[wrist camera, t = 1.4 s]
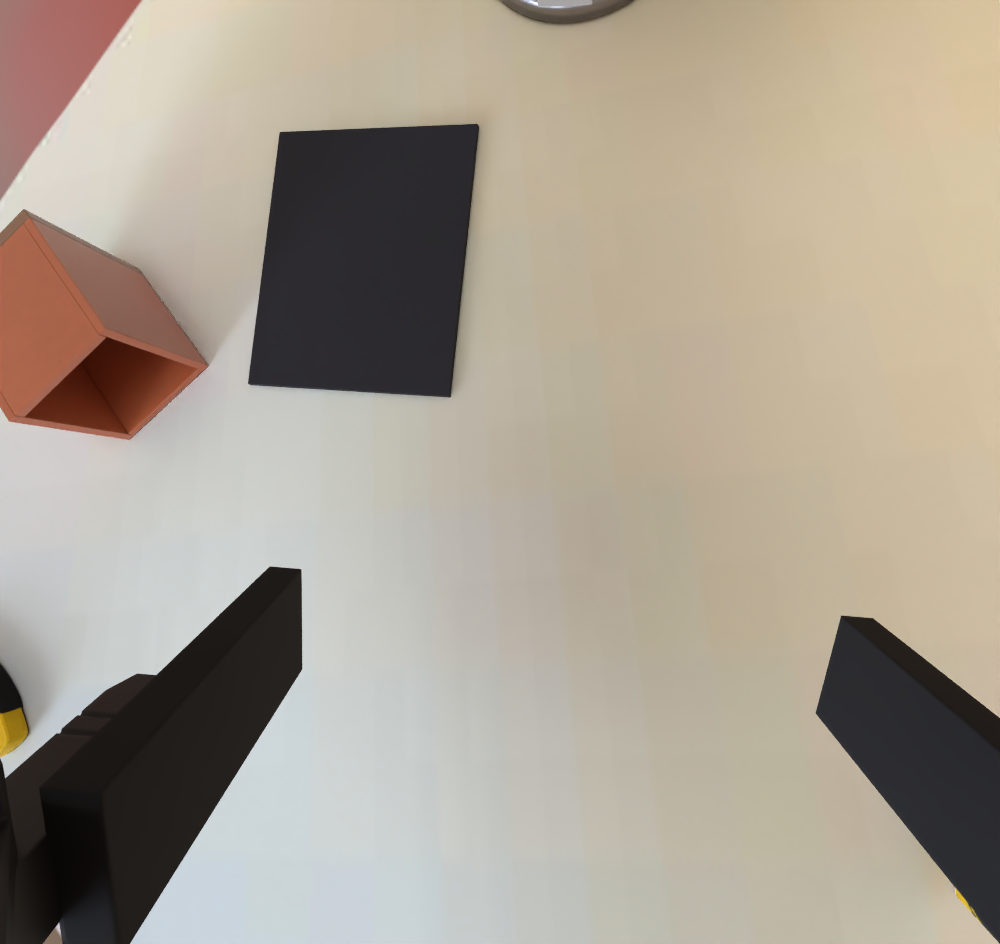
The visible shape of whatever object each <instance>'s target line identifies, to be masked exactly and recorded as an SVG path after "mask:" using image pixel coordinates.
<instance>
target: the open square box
mask: <svg viewBox="0 0 1000 944" xmlns="http://www.w3.org/2000/svg"><path fill="white" fill-rule="evenodd" d="M207 367H208V365H207V363H206V362H205V360H204V359H203V358H202V356H201V355H200V354H199V352H198V351H197V349H196V348H195V347H194V345H193V344H192V342H191V341H190V340H189V338H188V337H187V335H186V334H185V333H184V331H183V330H182V329H181V327H180V326H179V324H178V323H177V322H176V320H175V319H174V317H173V316H172V315H171V313H170V312H169V310H168V309H167V308H166V306H165V305H164V304H163V302H162V301H161V299H160V298H159V297H158V295H157V294H156V292H155V291H154V290H153V288H152V287H151V285H150V284H149V283H148V281H147V280H146V279H145V277H144V276H143V275H142V273H141V272H140V271H139V269H138V268H136V267H134V266H132V265H130V264H128V263H126V262H125V261H123V260H121V259H119V258H117V257H115V256H113V255H111V254H109V253H107V252H105V251H103V250H101V249H100V248H98V247H96V246H94V245H92V244H90V243H88V242H86V241H84V240H82V239H80V238H78V237H76V236H75V235H73V234H71V233H69V232H67V231H65V230H63V229H61V228H59V227H57V226H55V225H53V224H52V223H50V222H48V221H46V220H44V219H42V218H40V217H38V216H36V215H34V214H32V213H30V212H28V211H27V210H25V209H24V210H22V211H21V212H20V213H19V214H18V215H17V216H16V217H15V218H14V219H13V221H12V222H11V223H10V224H9V225H8V226H7V227H6V228H5V229H4V230H3V231H2V232H1V233H0V408H1V409H2V411H3V412H4V414H5V416H6V417H7V419H8V421H10V422H15V423H22V424H28V425H35V426H41V427H48V428H55V429H61V430H68V431H74V432H81V433H87V434H94V435H101V436H107V437H114V438H120V439H127V440H130V439H131V438H132V437H133V436H134V435H135V434H136V433H137V432H138V431H139V430H140V429H141V428H143V427H144V426H145V425H146V424H147V423H148V422H149V421H150V420H151V419H152V418H153V417H154V416H155V415H156V414H157V413H159V412H160V411H161V410H162V409H163V408H164V407H165V406H166V405H167V404H168V403H169V402H170V401H171V400H172V399H173V398H175V397H176V396H177V395H178V394H179V393H180V392H181V391H182V390H183V389H184V388H185V387H186V386H187V385H188V384H190V383H191V382H192V381H193V380H194V379H195V378H196V377H197V376H198V375H199V374H200V373H201V372H202V371H204V370H205V369H206V368H207Z"/></svg>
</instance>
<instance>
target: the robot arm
mask: <svg viewBox="0 0 1000 944" xmlns="http://www.w3.org/2000/svg"><path fill="white" fill-rule="evenodd" d="M501 1H502V2H503V3H505V4H506V5H507V6H509V7H510V8H511V9H513V10H515V11H516V12H518V13H520V14H522V15H525V16H527V17H530V18H533V19H537V20H540V21H547V22H557V23H567V22H578V21H584V20H589V19H593V18H596V17H599V16H603V15H605V14H608V13H610V12H613V11H615V10H617V9H619V8H621V7H623V6H624V5H626V4H628V3H629V2H631V1H633V0H501ZM301 670H302V582H301V569H292V568H280V567H269V568H268V569H267V570H266V571H265V572H264V573H263V574H262V575H261V576H260V577H259V578H257V579H256V580H255V581H254V582H253V583H252V584H251V585H250V586H249V587H248V588H247V589H246V590H245V591H244V592H243V593H242V594H241V595H240V596H239V597H238V598H237V599H236V600H235V601H233V602H232V603H231V604H230V605H229V606H228V607H227V608H226V609H225V610H224V611H223V612H222V613H221V614H220V615H219V616H218V617H217V618H216V619H215V620H214V621H213V622H212V623H210V624H209V625H208V626H207V627H206V628H205V629H204V630H203V631H202V632H201V633H200V634H199V635H198V636H197V637H196V638H195V639H194V640H193V641H192V642H191V643H190V644H189V645H188V646H186V647H185V648H184V649H183V650H182V651H181V652H180V653H179V654H178V655H177V656H176V657H175V658H174V659H173V660H172V661H171V662H170V663H169V664H168V665H167V666H166V667H165V668H163V669H162V670H161V671H160V672H159V673H158V674H157V675H146V674H136V675H134V676H132V677H130V678H128V679H126V680H124V681H123V682H121V683H119V684H117V685H115V686H113V687H111V688H109V689H108V690H106V691H105V692H103V693H102V694H101V695H100V696H99V697H98V698H97V699H95V700H94V701H93V702H92V703H91V704H90V705H89V706H87V707H86V708H85V709H84V710H83V711H82V714H81V715H80V716H78V715H77V716H76V717H75V718H74V719H73V720H71V721H70V722H69V723H68V724H67V725H66V726H65V727H63V728H62V731H61V733H60V734H55V735H54V736H53V737H52V738H51V739H50V740H49V741H47V742H46V743H45V744H44V745H43V746H42V747H41V748H39V749H38V750H37V751H36V752H35V753H34V754H33V755H31V756H30V757H29V758H28V759H27V760H26V761H25V762H24V763H22V764H21V765H20V766H19V767H18V768H17V769H16V770H14V771H13V772H12V773H11V774H10V775H9V776H8V777H6V778H5V776H4V770H3V764H2V762H1V759H0V944H43V942H44V941H45V940H46V939H47V937H48V936H49V935H50V933H51V932H52V931H53V929H54V928H55V927H56V926H57V924H58V923H60V929H61V936H62V942H63V944H130V942H131V941H132V939H133V938H134V936H135V934H136V933H137V931H138V930H139V928H140V927H141V925H142V923H143V922H144V920H145V919H146V917H147V915H148V914H149V912H150V911H151V909H152V907H153V906H154V904H155V903H156V901H157V899H158V898H159V896H160V895H161V893H162V891H163V890H164V888H165V887H166V885H167V884H168V882H169V880H170V879H171V877H172V876H173V874H174V872H175V871H176V869H177V868H178V866H179V864H180V863H181V861H182V860H183V858H184V856H185V855H186V853H187V852H188V850H189V849H190V847H191V845H192V844H193V842H194V841H195V839H196V837H197V836H198V834H199V833H200V831H201V829H202V828H203V826H204V825H205V823H206V821H207V820H208V818H209V817H210V815H211V813H212V812H213V810H214V809H215V807H216V806H217V804H218V802H219V801H220V799H221V798H222V796H223V794H224V793H225V791H226V790H227V788H228V786H229V785H230V783H231V782H232V780H233V778H234V777H235V775H236V774H237V772H238V770H239V769H240V767H241V766H242V764H243V763H244V761H245V759H246V758H247V756H248V755H249V753H250V751H251V750H252V748H253V747H254V745H255V743H256V742H257V740H258V739H259V737H260V735H261V734H262V732H263V731H264V729H265V727H266V726H267V724H268V723H269V721H270V720H271V718H272V716H273V715H274V713H275V712H276V710H277V708H278V707H279V705H280V704H281V702H282V700H283V699H284V697H285V696H286V694H287V692H288V691H289V689H290V688H291V686H292V684H293V683H294V681H295V680H296V678H297V677H298V675H299V673H300V672H301ZM816 714H817V715H818V717H819V718H820V719H821V720H822V722H823V723H824V724H825V725H826V727H827V728H828V729H829V730H830V732H831V733H832V734H833V735H834V737H835V738H836V739H837V740H838V742H839V743H840V744H841V745H842V747H843V748H844V749H845V750H846V752H847V753H848V754H849V755H850V757H851V758H852V759H853V760H854V762H855V763H856V764H857V765H858V767H859V768H860V769H861V770H862V772H863V773H864V774H865V775H866V777H867V778H868V779H869V780H870V782H871V783H872V784H873V785H874V787H875V788H876V789H877V790H878V792H879V793H880V794H881V795H882V797H883V798H884V799H885V800H886V802H887V803H888V804H889V805H890V807H891V808H892V809H893V810H894V811H895V813H896V814H897V815H898V816H899V818H900V819H901V820H902V821H903V823H904V824H905V825H906V826H907V828H908V829H909V830H910V831H911V833H912V834H913V835H914V836H915V838H916V839H917V840H918V841H919V843H920V844H921V845H922V846H923V848H924V849H925V850H926V851H927V853H928V854H929V855H930V856H931V858H932V859H933V860H934V861H935V863H936V864H937V865H938V866H939V868H940V869H941V870H942V871H943V873H944V874H945V875H946V876H947V878H948V879H949V880H950V881H951V883H952V884H953V885H954V886H955V888H956V889H957V890H958V891H959V893H960V894H961V895H962V896H963V898H964V899H965V900H966V901H967V903H968V904H969V905H970V906H971V908H972V909H973V910H974V911H975V913H976V914H977V915H978V916H979V917H980V919H981V920H982V921H983V922H984V924H985V925H986V926H987V927H988V929H989V930H990V931H991V932H992V934H993V935H994V936H995V937H996V939H997V940H998V941H999V942H1000V718H999V717H998V716H996V715H995V714H994V713H993V712H991V711H990V710H989V709H987V708H986V707H985V706H984V705H982V704H981V703H980V702H979V701H977V700H976V699H975V698H973V697H972V696H971V695H970V694H968V693H967V692H966V691H965V690H963V689H962V688H961V687H959V686H958V685H957V684H956V683H954V682H953V681H952V680H951V679H949V678H948V677H947V676H946V675H944V674H943V673H942V672H940V671H939V670H938V669H937V668H935V667H934V666H933V665H932V664H930V663H929V662H928V661H926V660H925V659H924V658H923V657H921V656H920V655H919V654H918V653H916V652H915V651H914V650H912V649H911V648H910V647H909V646H907V645H906V644H905V643H904V642H902V641H901V640H900V639H898V638H897V637H896V636H895V635H893V634H892V633H891V632H890V631H888V630H887V629H886V628H884V627H883V626H882V625H881V624H879V623H878V622H877V621H876V620H874V619H873V618H863V617H851V616H841V619H840V623H839V627H838V630H837V634H836V638H835V642H834V646H833V649H832V653H831V657H830V661H829V665H828V668H827V672H826V676H825V680H824V684H823V687H822V691H821V695H820V699H819V703H818V706H817V710H816Z"/></svg>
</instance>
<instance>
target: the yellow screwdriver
mask: <svg viewBox="0 0 1000 944" xmlns="http://www.w3.org/2000/svg"><path fill="white" fill-rule="evenodd" d="M22 706H23V705H22V702H21V700H20V697H19V695H18V693H17V690H16V688H15V686H14V684H13V683H12V681H11V679H10V678H9V676H8V675H7V673H6V672H5V670H4V669H3V668H2V667H1V665H0V757H2V756H4V755H6V754H8V753H9V752H11V751H13V750H14V749H15V748H17V747H18V746H19V745H20V744H21V743H22V742H23V741H24V739H25V738H26V736H27V734H28V729H27V725H26V721H25V718H24V715H23V712H22V709H21V707H22Z"/></svg>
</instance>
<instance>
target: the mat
mask: <svg viewBox="0 0 1000 944" xmlns="http://www.w3.org/2000/svg"><path fill="white" fill-rule="evenodd" d="M478 131H479V127H478V124H466V125H442V126H417V127H393V128H369V129H344V130H320V131H296V132H280V135H279V143H278V151H277V159H276V167H275V175H274V183H273V191H272V199H271V206H270V214H269V222H268V230H267V238H266V246H265V254H264V262H263V270H262V278H261V286H260V294H259V301H258V309H257V317H256V325H255V333H254V341H253V349H252V357H251V365H250V373H249V381H248V384H250V385H261V386H277V387H293V388H309V389H326V390H342V391H358V392H374V393H390V394H406V395H423V396H439V397H451V387H452V378H453V368H454V359H455V349H456V340H457V330H458V321H459V311H460V302H461V292H462V283H463V273H464V264H465V254H466V245H467V236H468V226H469V217H470V207H471V198H472V188H473V179H474V169H475V160H476V150H477V141H478Z"/></svg>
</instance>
